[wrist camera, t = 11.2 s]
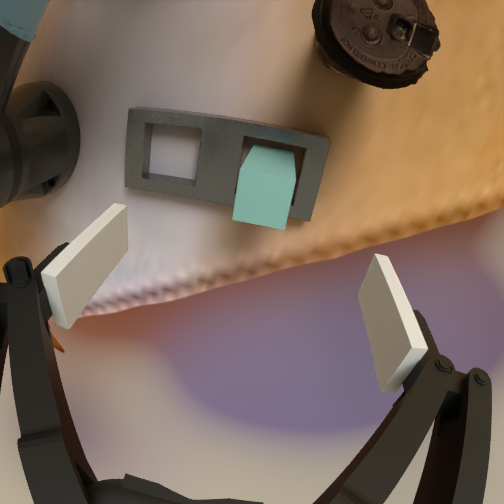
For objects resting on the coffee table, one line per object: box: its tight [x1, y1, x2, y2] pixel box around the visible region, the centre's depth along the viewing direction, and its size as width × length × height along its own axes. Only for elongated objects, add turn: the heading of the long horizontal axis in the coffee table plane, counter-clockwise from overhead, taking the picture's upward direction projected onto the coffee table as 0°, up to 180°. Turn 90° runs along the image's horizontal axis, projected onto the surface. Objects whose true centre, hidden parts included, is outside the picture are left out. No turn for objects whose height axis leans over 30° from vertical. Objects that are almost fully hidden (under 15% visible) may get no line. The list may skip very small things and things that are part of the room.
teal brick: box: [232, 144, 296, 230], centre depth 27 cm, size 4×4×10 cm
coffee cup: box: [312, 0, 440, 89], centre depth 19 cm, size 9×8×13 cm
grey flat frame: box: [125, 107, 331, 222], centre depth 31 cm, size 20×9×2 cm, turn 80°
